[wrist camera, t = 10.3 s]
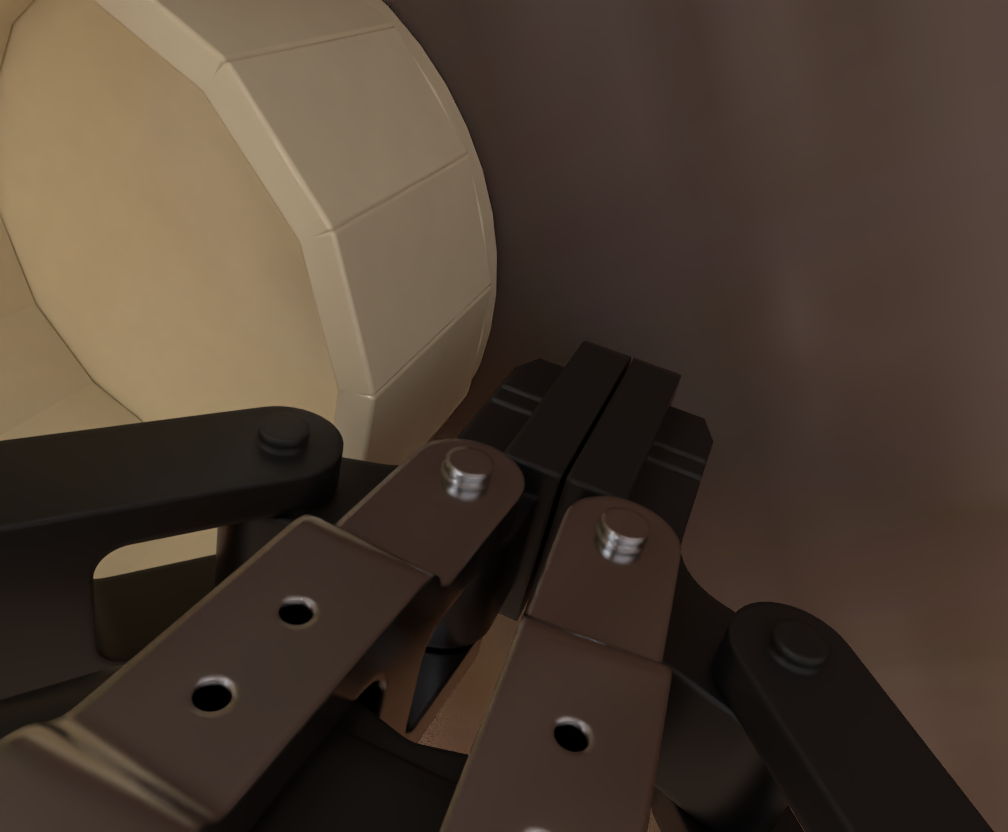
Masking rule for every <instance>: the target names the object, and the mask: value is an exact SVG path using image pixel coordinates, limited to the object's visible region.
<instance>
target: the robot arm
mask: <svg viewBox="0 0 1008 832" xmlns="http://www.w3.org/2000/svg"><path fill="white" fill-rule="evenodd" d="M630 363H631V357H630V356H627V355H624V354H621V353H619V352H616V351H613V350H610V349H608V348H605V347H602V346H599V345H596V344H594V343H591V342H588V341H583V343H582V344H581V345H580V347H579V348H578V350H577V351H576V352H575V354H574V355H573V357H572V358H571V359H570V361H569V362H568V364H567V365H566V366H565V368H564V367H562V366H559V365H556V364H553V363H551V362H548V361H545V360H542V359H537V360H535V361H532V362H529V363H527V364H524V365H521V366H519V367H516V368H515V369H514V370H513V371H512V372H511V373H510V375H509V376H508V377H507V378H506V379H505V381H504V382H503V383H502V385H501V387H499V388H498V389H497V390H496V391H495V393H494V394H493V395H492V396H491V398H490V401H487V402H486V403H485V405H484V406H483V407H482V408H481V409H480V411H479V412H478V413H477V414H476V415H475V417H474V418H473V419H472V420H471V422H470V423H469V424H468V425H467V426H466V428H465V429H464V430H463V431H462V432H461V434H460V435H459V436H458V437H457V438H451V439H440V440H435V441H432V442H429V443H427V444H424V445H422V446H421V447H420V448H418V449H417V450H416V451H415V452H413V453H412V454H411V455H410V456H409V457H408V458H407V459H406V460H405V461H404V462H403V463H401V464H400V465H387V464H380V463H373V462H368V461H362V460H356V459H351V458H345V457H342V454H343V445H344V442H343V438H342V435H341V434H340V432H339V430H338V429H337V428H336V427H335V426H334V425H333V424H332V423H331V422H330V421H328V420H327V419H325V418H323V417H322V416H320V415H318V414H315V413H313V412H310V411H307V410H304V409H299V408H294V407H286V406H266V407H257V408H249V409H242V410H234V411H226V412H219V413H211V414H203V415H195V416H188V417H180V418H172V419H164V420H157V421H149V422H141V423H133V424H126V425H118V426H110V427H102V428H95V429H87V430H79V431H71V432H64V433H56V434H48V435H40V436H33V437H25V438H17V439H10V440H2V441H0V832H647V830H648V823H649V817H650V811H651V807H652V812H653V814H654V817H655V820H656V822H657V824H658V826H659V828H660V830H661V832H804V831H803V829H804V830H805V832H994V831H993V830H992V829H991V827H990V826H989V825H988V823H987V822H986V821H985V820H984V818H983V817H982V816H981V814H980V813H979V812H978V811H977V809H976V808H975V807H974V805H973V804H972V803H971V802H970V800H969V799H968V798H967V796H966V795H965V794H964V793H963V791H962V790H961V789H960V787H959V786H958V785H957V784H956V782H955V781H954V780H953V778H952V777H951V776H950V775H949V773H948V772H947V771H946V769H945V768H944V767H943V766H942V764H941V763H940V762H939V760H938V759H937V758H936V757H935V755H934V754H933V753H932V751H931V750H930V749H929V748H928V746H927V745H926V744H925V742H924V741H923V740H922V739H921V737H920V736H919V735H918V734H917V732H916V731H915V730H914V728H913V727H912V726H911V725H910V723H909V722H908V721H907V719H906V718H905V717H904V716H903V714H902V713H901V712H900V710H899V709H898V708H897V707H896V705H895V704H894V703H893V701H892V700H891V699H890V698H889V696H888V695H887V694H886V692H885V691H884V690H883V689H882V687H881V686H880V685H879V683H878V682H877V681H876V680H875V678H874V677H873V676H872V674H871V673H870V672H869V671H868V669H867V668H866V667H865V665H864V664H863V663H862V662H861V660H860V659H859V658H858V656H857V655H856V654H855V653H854V651H853V650H852V649H851V647H850V646H849V645H848V644H847V643H846V641H845V640H844V639H843V638H842V637H841V636H840V635H839V634H838V633H837V632H836V631H835V630H834V629H832V628H831V627H830V626H828V625H827V624H826V623H824V622H823V621H821V620H820V619H818V618H816V617H815V616H813V615H811V614H809V613H807V612H805V611H803V610H801V609H798V608H795V607H792V606H789V605H785V604H781V603H774V602H757V603H752V604H749V605H746V606H744V607H742V608H741V609H739V610H738V611H737V612H736V613H735V612H734V611H732V610H731V609H729V608H728V607H726V606H725V605H723V604H722V603H720V602H719V601H717V600H716V599H715V598H713V597H712V596H711V595H709V594H708V593H707V592H706V591H705V590H704V589H703V588H702V587H700V585H699V584H698V583H697V582H696V581H695V580H694V579H693V577H692V576H691V574H690V573H689V571H688V570H687V568H686V566H685V564H684V562H683V558H682V555H681V543H682V538H683V535H684V532H685V529H686V526H687V523H688V519H689V516H690V513H691V510H692V507H693V504H694V500H695V497H696V494H697V491H698V488H699V485H700V481H701V478H702V475H703V472H704V469H705V466H706V462H707V459H708V456H709V453H710V450H711V447H712V443H713V440H712V437H711V434H710V432H709V429H708V427H707V424H706V422H705V419H704V418H701V417H698V416H695V415H693V414H690V413H687V412H685V411H682V410H679V409H676V408H674V407H671V403H672V401H673V398H674V395H675V393H676V390H677V387H678V384H679V381H680V378H681V375H680V374H678V373H675V372H672V371H669V370H666V369H664V368H661V367H658V366H655V365H652V364H650V363H647V362H644V361H641V360H639V359H636V358H634V359H633V361H632V363H631V364H630ZM213 528H217V545H216V554H214V555H209V556H205V557H200V558H195V559H191V560H186V561H181V562H176V563H172V564H167V565H162V566H158V567H153V568H148V569H144V570H139V571H134V572H130V573H125V574H120V575H116V576H111V577H106V578H99V579H93V576H94V572H95V569H96V567H97V565H98V564H99V563H100V562H101V560H102V559H103V558H104V557H106V556H107V555H108V554H110V553H111V552H113V551H115V550H117V549H119V548H121V547H124V546H128V545H132V544H137V543H142V542H147V541H152V540H157V539H162V538H167V537H172V536H177V535H182V534H187V533H193V532H198V531H203V530H208V529H213ZM528 599H529V600H528ZM527 601H528V603H527ZM526 603H527V606H526V609H525V613H524V614H523V617H522V619H521V621H520V624H519V626H518V629H517V631H516V634H515V637H514V639H513V642H512V644H511V647H510V649H509V652H508V655H507V657H506V660H505V662H504V665H503V668H502V670H501V673H500V675H499V678H498V681H497V683H496V686H495V688H494V691H493V693H492V696H491V699H490V701H489V704H488V706H487V709H486V712H485V714H484V717H483V719H482V722H481V725H480V727H479V730H478V732H477V735H476V738H475V740H474V743H473V745H472V748H471V750H470V753H469V755H467V754H462V753H458V752H453V751H448V750H444V749H439V748H435V747H430V746H426V745H421V744H418V741H419V740H420V738H421V737H422V735H423V734H424V732H425V731H426V729H427V728H428V727H429V725H430V724H431V722H432V721H433V719H434V718H435V716H436V715H437V713H438V712H439V711H440V709H441V708H442V706H443V705H444V703H445V702H446V700H447V699H448V697H449V696H450V694H451V693H452V692H453V690H454V689H455V687H456V686H457V684H458V683H459V681H460V680H461V678H462V677H463V676H464V674H465V673H466V671H467V670H468V668H469V667H470V665H471V664H472V662H473V661H474V659H475V658H476V656H477V654H478V650H479V647H480V643H481V640H482V637H483V636H484V635H485V634H486V633H487V631H488V630H489V628H490V627H491V625H492V623H493V621H494V619H495V618H496V616H497V614H498V613H500V614H502V615H504V616H507V617H509V618H511V619H514V620H516V621H517V620H518V618H519V616H520V614H521V612H522V610H523V608H524V606H525V604H526ZM788 804H789V806H790V807H791V809H792V811H793V812H794V814H795V816H796V817H797V819H798V820H799V822H800V824H801V825H802V827H803V829H802V827H801V826H800V824H799V822H798V821H797V819H796V817H795V816H794V814H793V812H792V811H791V809H790V807H789V806H788Z"/></svg>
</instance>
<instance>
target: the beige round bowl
mask: <svg viewBox="0 0 1008 832" xmlns="http://www.w3.org/2000/svg"><path fill="white" fill-rule="evenodd" d="M496 278H497V250H496V241H495V232H494V222H493V213H492V209H491V204H490V200H489V196H488V191H487V187H486V183H485V178H484V174H483V170H482V167H481V164H480V161H479V159H478V156H477V153H476V150H475V148H474V145H473V142H472V139H471V136H470V134H469V131H468V128H467V126H466V124H465V122H464V120H463V118H462V116H461V114H460V112H459V110H458V108H457V106H456V104H455V101H454V99H453V97H452V95H451V93H450V91H449V89H448V87H447V85H446V84H445V82H444V81H443V79H442V78H441V76H440V74H439V73H438V71H437V70H436V68H435V67H434V65H433V64H432V62H431V61H430V59H429V57H428V56H427V54H426V53H425V51H424V50H423V48H422V47H421V45H420V44H419V43H418V42H417V40H416V39H415V38H414V37H413V35H412V34H411V33H410V32H409V31H408V29H407V28H406V27H405V26H404V25H403V23H402V22H401V21H400V20H399V18H398V17H397V16H396V15H395V14H394V12H393V11H392V10H391V9H390V8H389V7H388V6H387V5H386V4H385V3H384V2H383V1H382V0H0V441H2V440H10V439H17V438H25V437H33V436H40V435H48V434H56V433H64V432H71V431H79V430H87V429H95V428H102V427H110V426H118V425H126V424H133V423H141V422H149V421H157V420H164V419H172V418H180V417H188V416H195V415H203V414H211V413H219V412H226V411H234V410H242V409H249V408H257V407H266V406H286V407H294V408H299V409H304V410H307V411H310V412H313V413H315V414H318V415H320V416H322V417H323V418H325V419H327V420H328V421H330V422H331V423H332V424H333V425H334V426H335V427H336V428H337V429H338V430H339V432H340V434H341V435H342V438H343V442H344V445H343V454H342V457H345V458H351V459H356V460H362V461H368V462H373V463H380V464H387V465H400V464H401V463H403V462H404V461H405V460H406V459H407V458H408V457H409V456H410V455H411V454H412V453H413V452H415V451H416V450H417V449H418V448H420V447H421V446H422V445H424V444H427V443H429V442H430V440H431V439H432V438H433V437H434V436H435V434H436V433H437V432H438V431H439V429H440V428H441V427H442V426H443V425H444V424H445V422H446V421H447V420H448V419H449V418H450V416H451V415H452V413H453V412H454V411H455V410H456V408H457V407H458V406H459V405H460V404H461V402H462V401H463V400H464V399H465V397H466V394H467V393H468V391H469V387H470V385H471V382H472V380H473V378H474V376H475V374H476V372H477V370H478V368H479V366H480V364H481V360H482V357H483V354H484V350H485V347H486V344H487V340H488V337H489V334H490V331H491V324H492V318H493V311H494V305H495V298H496ZM216 545H217V528H213V529H208V530H203V531H198V532H193V533H187V534H182V535H177V536H172V537H167V538H162V539H157V540H152V541H147V542H142V543H137V544H132V545H128V546H124V547H121V548H119V549H117V550H115V551H113V552H111V553H110V554H108V555H107V556H106V557H104V558H103V559H102V560H101V562H100V563H99V564H98V565H97V567H96V569H95V572H94V576H93V579H99V578H106V577H111V576H116V575H120V574H125V573H130V572H134V571H139V570H144V569H148V568H153V567H158V566H162V565H167V564H172V563H176V562H181V561H186V560H191V559H195V558H200V557H205V556H209V555H214V554H216Z"/></svg>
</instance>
